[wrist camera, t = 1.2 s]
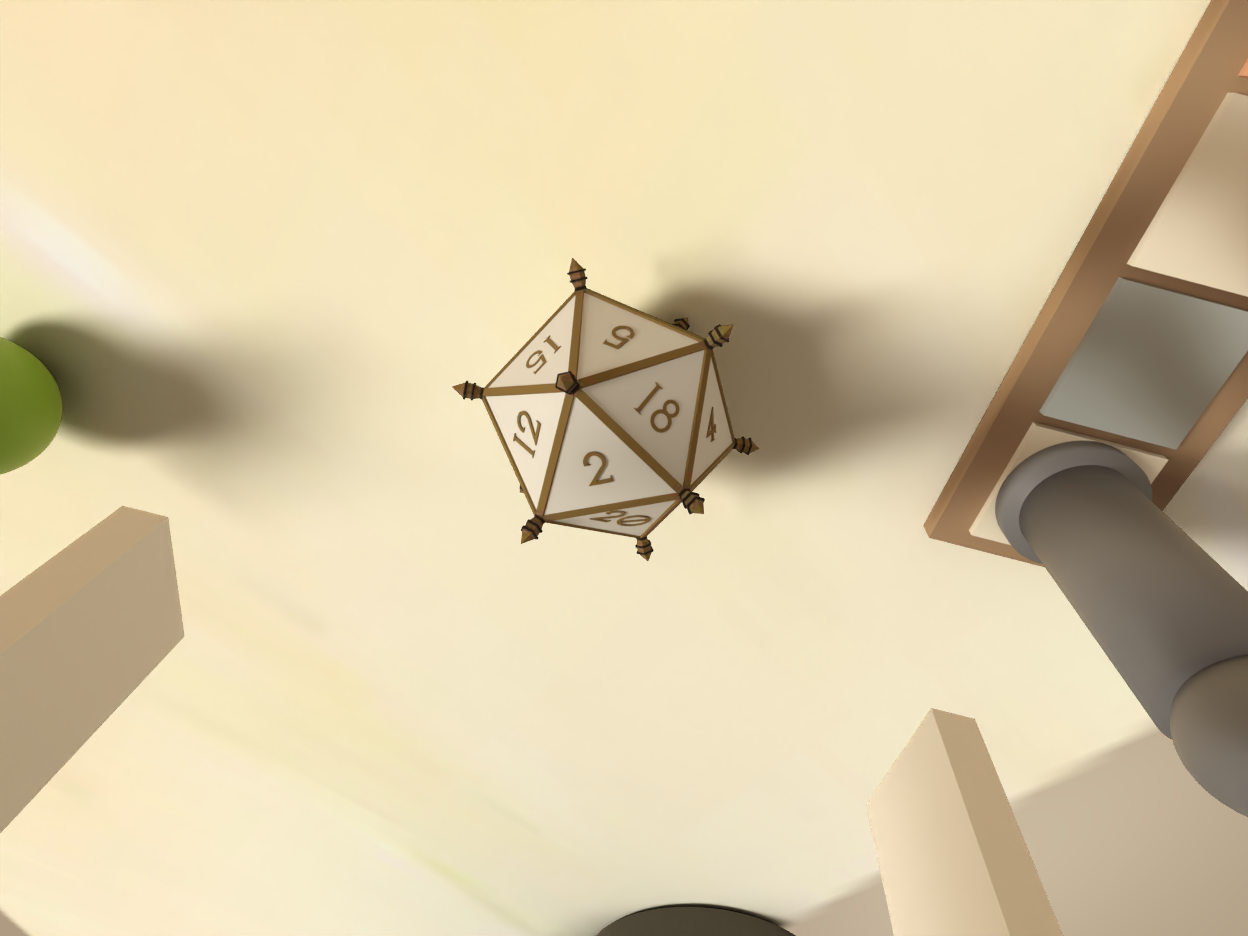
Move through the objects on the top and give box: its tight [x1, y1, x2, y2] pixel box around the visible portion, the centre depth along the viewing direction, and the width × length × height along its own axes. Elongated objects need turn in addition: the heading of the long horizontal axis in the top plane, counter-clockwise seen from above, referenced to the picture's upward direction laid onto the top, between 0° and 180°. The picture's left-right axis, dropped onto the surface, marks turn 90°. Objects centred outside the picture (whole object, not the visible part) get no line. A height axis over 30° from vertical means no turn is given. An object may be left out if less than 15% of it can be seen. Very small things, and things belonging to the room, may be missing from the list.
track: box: [924, 0, 1248, 567], centre depth 21 cm, size 21×7×1 cm, turn 167°
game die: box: [453, 258, 759, 561], centre depth 22 cm, size 9×8×10 cm
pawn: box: [995, 440, 1248, 817], centre depth 19 cm, size 5×5×12 cm
